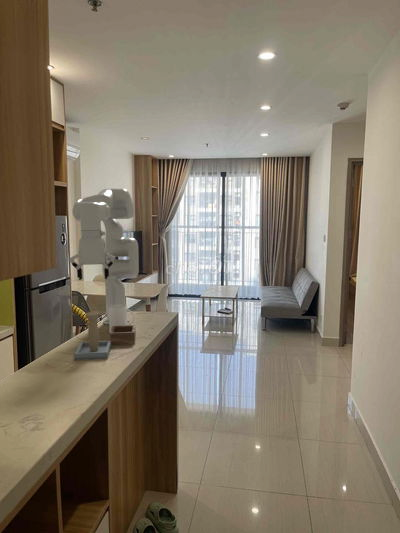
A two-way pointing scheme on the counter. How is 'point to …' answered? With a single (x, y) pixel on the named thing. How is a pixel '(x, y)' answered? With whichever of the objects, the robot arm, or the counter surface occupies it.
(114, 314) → the mug
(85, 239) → the robot arm
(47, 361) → the counter surface
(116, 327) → the holder
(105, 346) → the tray
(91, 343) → the handle
